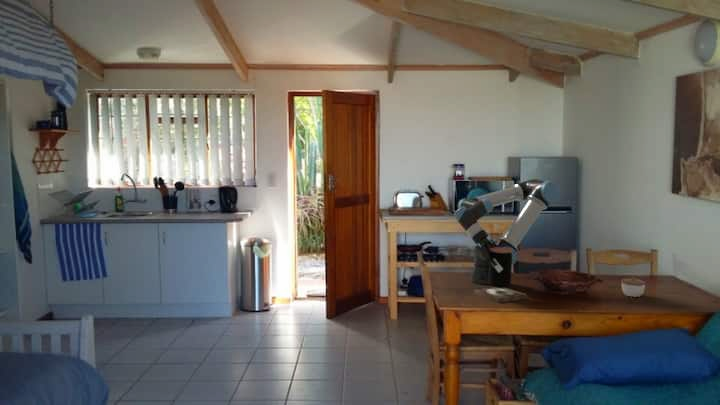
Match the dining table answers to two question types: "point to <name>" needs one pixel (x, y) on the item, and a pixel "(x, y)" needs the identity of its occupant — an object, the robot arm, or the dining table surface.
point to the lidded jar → (633, 287)
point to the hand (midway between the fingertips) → (505, 269)
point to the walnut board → (500, 294)
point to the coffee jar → (505, 261)
